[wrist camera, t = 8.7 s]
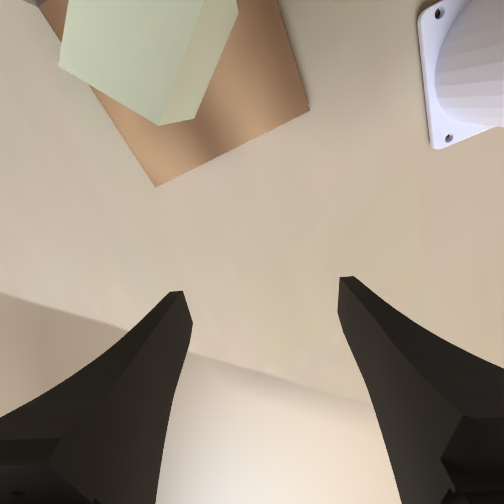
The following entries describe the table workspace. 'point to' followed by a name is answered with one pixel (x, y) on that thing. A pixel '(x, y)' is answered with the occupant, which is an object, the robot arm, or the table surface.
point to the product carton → (148, 51)
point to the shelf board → (215, 95)
